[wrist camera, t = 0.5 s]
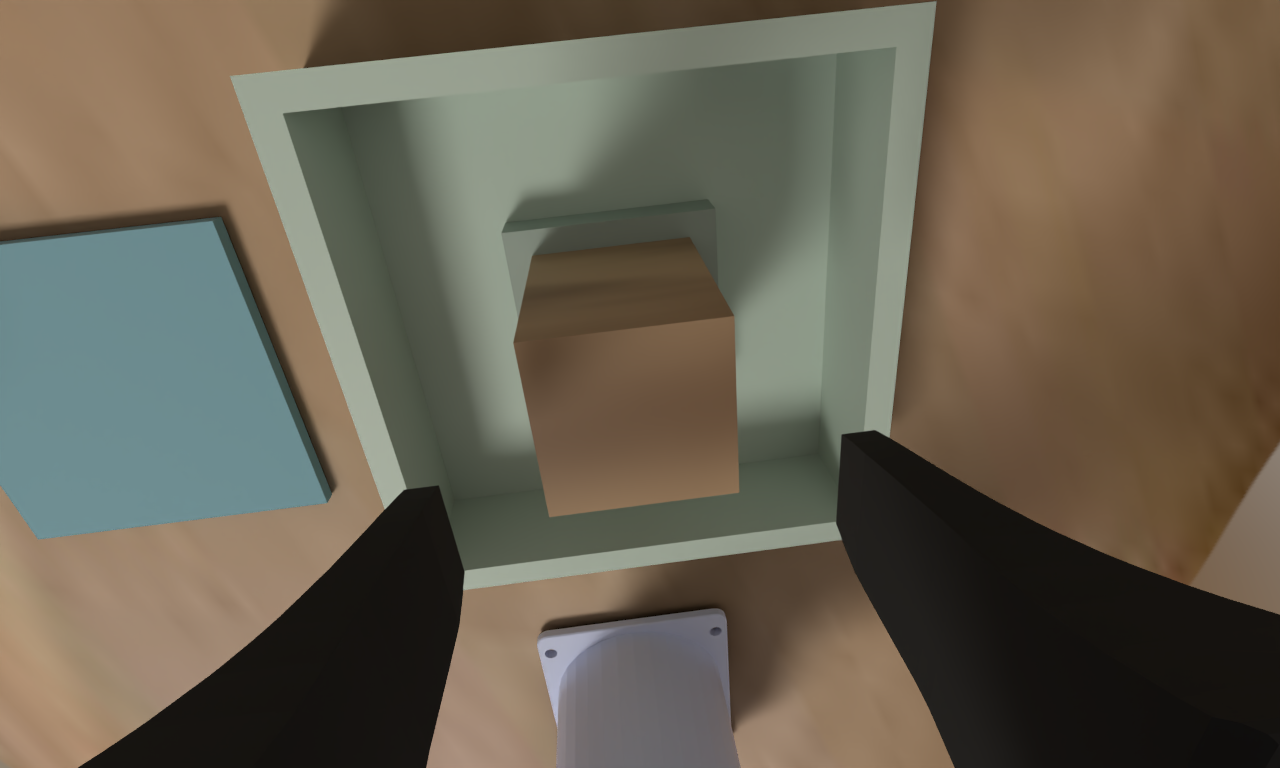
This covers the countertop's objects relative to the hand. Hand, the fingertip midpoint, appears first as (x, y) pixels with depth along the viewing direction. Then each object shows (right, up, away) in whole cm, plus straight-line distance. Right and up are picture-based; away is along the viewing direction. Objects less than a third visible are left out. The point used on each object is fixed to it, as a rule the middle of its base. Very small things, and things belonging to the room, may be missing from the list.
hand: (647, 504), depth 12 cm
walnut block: (-1, +4, +8) cm, 9 cm away
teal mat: (-17, +2, +9) cm, 19 cm away
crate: (-1, +5, +9) cm, 11 cm away
